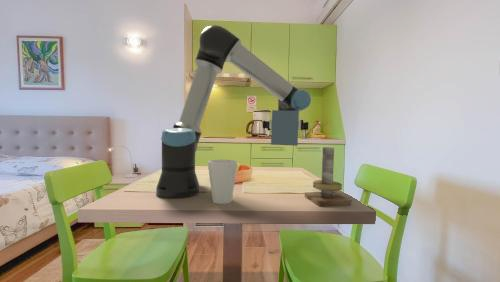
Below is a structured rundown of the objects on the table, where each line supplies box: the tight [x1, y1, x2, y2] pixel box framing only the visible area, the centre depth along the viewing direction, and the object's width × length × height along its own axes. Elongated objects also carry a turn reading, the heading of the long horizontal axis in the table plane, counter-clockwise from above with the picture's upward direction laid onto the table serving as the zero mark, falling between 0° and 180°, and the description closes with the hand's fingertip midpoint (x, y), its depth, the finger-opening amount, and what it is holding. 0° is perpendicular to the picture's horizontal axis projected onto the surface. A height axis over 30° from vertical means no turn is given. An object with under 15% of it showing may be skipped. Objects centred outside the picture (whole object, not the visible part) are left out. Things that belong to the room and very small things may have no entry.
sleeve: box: [270, 109, 300, 147], centre depth 80 cm, size 8×8×11 cm
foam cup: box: [207, 159, 238, 205], centre depth 78 cm, size 10×9×13 cm
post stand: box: [304, 146, 352, 207], centre depth 80 cm, size 11×11×18 cm
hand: (284, 124), depth 75 cm, fingers closed on sleeve, 8 cm apart
